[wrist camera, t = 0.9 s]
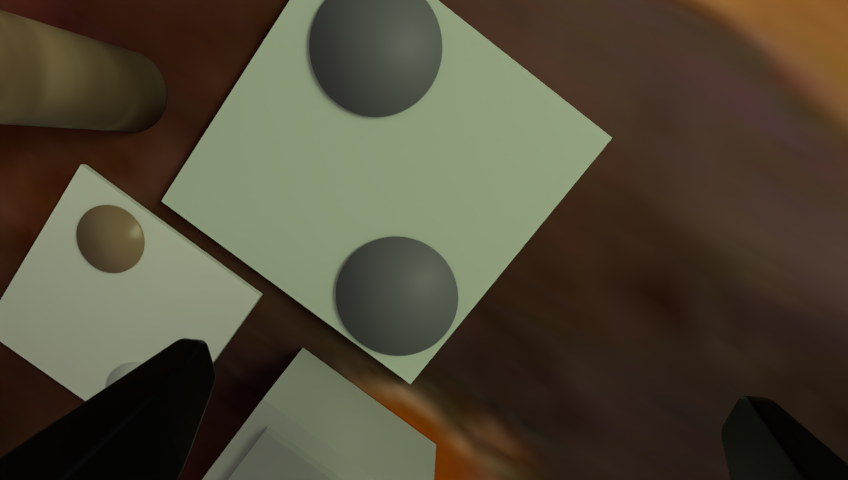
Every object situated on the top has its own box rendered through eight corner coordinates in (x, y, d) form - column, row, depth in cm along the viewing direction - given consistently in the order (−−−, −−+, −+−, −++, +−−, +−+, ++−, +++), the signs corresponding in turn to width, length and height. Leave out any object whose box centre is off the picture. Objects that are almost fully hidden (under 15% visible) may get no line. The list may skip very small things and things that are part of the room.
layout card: (155, 444, 25) (150, 449, 25) (-12, 327, 25) (-20, 330, 24) (263, 294, 23) (259, 296, 23) (85, 164, 23) (78, 164, 22)
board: (411, 378, 24) (409, 386, 23) (168, 199, 23) (158, 201, 22) (607, 138, 21) (613, 137, 20) (342, -72, 20) (338, -80, 20)
